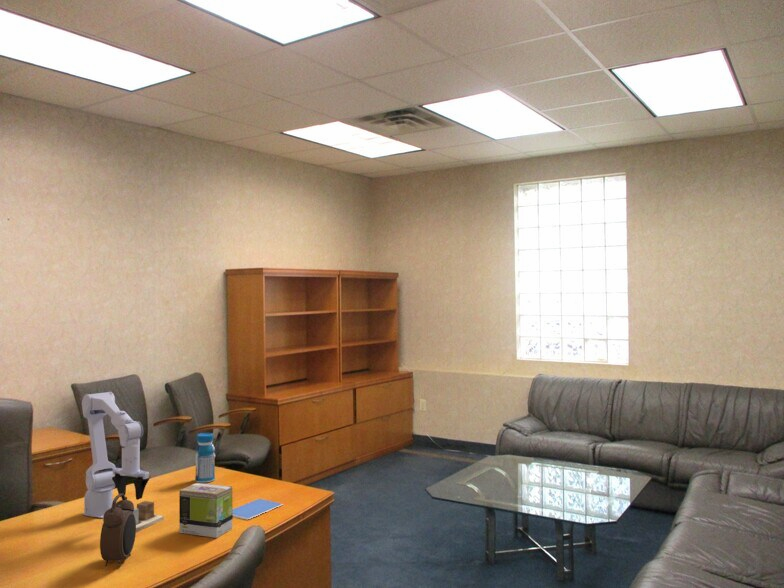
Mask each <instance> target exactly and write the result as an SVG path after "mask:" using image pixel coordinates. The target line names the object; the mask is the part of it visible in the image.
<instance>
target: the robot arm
mask: <svg viewBox="0 0 784 588" xmlns="http://www.w3.org/2000/svg"><path fill="white" fill-rule="evenodd" d="M81 409H82V414H83V418H85V419H87V424H88V425H87V426H88V431H89V441H90V448H91V455H92V464H91V466H89V468H87V470H85V487H86V489H87V490H86V492H85V494H84V502H83V503H84V504H83V505H84V506H83V508H84V509H83V511H84V512H83V513H82V516H88V517H93V518H97V517H98V519H103V516H104V513H105V512H106V511H107V510H108V509H110V508H111V507H112V502H113V500H114V489H115V487H116V490H117V492H118V493H117V495H118V494H124V495H125V496H126V492H127V482H128V479H129V477H132V478H135V479H133V480H132V482H133V485H134V489H135V491H134V492H135V499H136V500H140V499H142V498H143V496H144V492H145V489H146V485H147V484H148V482H149V480H150V472H149V471H146V470H144V469H141V468H140V466H141V465H140V464H141V462H140V461H141V459H140V457H141V456H140V455H141V453H140V447H141V446H140V445H141V439H142V437H143V435H144V426H143V424H142V423H141V421H138V420H137V421H136V420H133V418H132V417H130V415H129V414H128V413H127V412H126V411H125V410H120V408H119V407H118V406H117V404H116V397H115V394H114V393H113V392H112V391H107V392H99V393H90V394H89V393H85V394H84V395H83V397H82V400H81ZM106 415H108V416H109V417H110V423H111V424H112V425H113V426H114V428H115V429H116V430H117V432H118V438H119V445H120V446H121V467H116V464H114V463H112V462H111V461H109V459H108V450H107V443H106V436H105V427H104V418H105V416H106ZM119 498H121V496H120V497H119Z"/></svg>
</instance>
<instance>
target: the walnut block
mask: <svg viewBox="0 0 784 588" xmlns="http://www.w3.org/2000/svg"><path fill="white" fill-rule="evenodd" d="M136 508H137V509H139V519H143V520H147V519H149V518H151V517H153V516H154V515H155V502H154V501H150V500H149V501H148V500H144V501H141V502H139V503H136Z"/></svg>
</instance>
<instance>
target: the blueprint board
mask: <svg viewBox="0 0 784 588" xmlns="http://www.w3.org/2000/svg"><path fill="white" fill-rule="evenodd" d="M164 517H165V516H164V515H159V514H154V516H153V517H151V518H149V519H147V520H143V519H139V521H138V524H136V533H137V532H140V531H142V530H144V529H146V528H148V527H150V526H153V525H154V524H156V523H159V522H161V521H164Z"/></svg>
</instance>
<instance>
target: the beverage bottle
mask: <svg viewBox="0 0 784 588" xmlns="http://www.w3.org/2000/svg"><path fill="white" fill-rule="evenodd" d="M196 442H197V443H198V444H197V445H196V447H195V450H194V451H195V456H194V459H195V476H194V477H195V479H194V480H195V483H203V484H208V483H211V482H214V481H215V479H216V474H215V473H216V472H215V469H216V468H215V467H216V466H215V464H216V463H215V462H216V460H215V459H216V453H215V451H216V447H215V445H214V444H213V442H214V433H211V432H202V433H198V434H197V435H196Z"/></svg>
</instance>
